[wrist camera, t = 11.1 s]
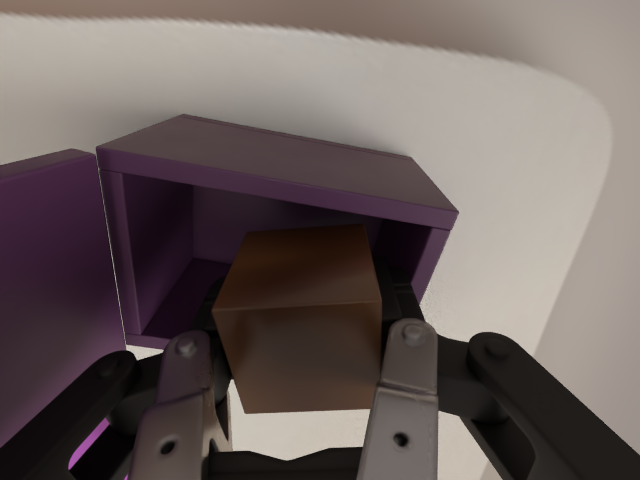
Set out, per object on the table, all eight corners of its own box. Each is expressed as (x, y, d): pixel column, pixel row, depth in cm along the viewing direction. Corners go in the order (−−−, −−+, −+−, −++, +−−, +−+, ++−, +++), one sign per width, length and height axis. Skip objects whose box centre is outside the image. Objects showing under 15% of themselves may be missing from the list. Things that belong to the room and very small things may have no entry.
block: (364, 222, 12) (382, 300, 8) (366, 313, 14) (382, 409, 10) (246, 231, 12) (209, 310, 8) (266, 319, 14) (244, 415, 10)
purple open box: (412, 157, 16) (460, 212, 10) (370, 288, 20) (387, 381, 14) (182, 113, 15) (94, 146, 10) (185, 259, 20) (125, 345, 14)
